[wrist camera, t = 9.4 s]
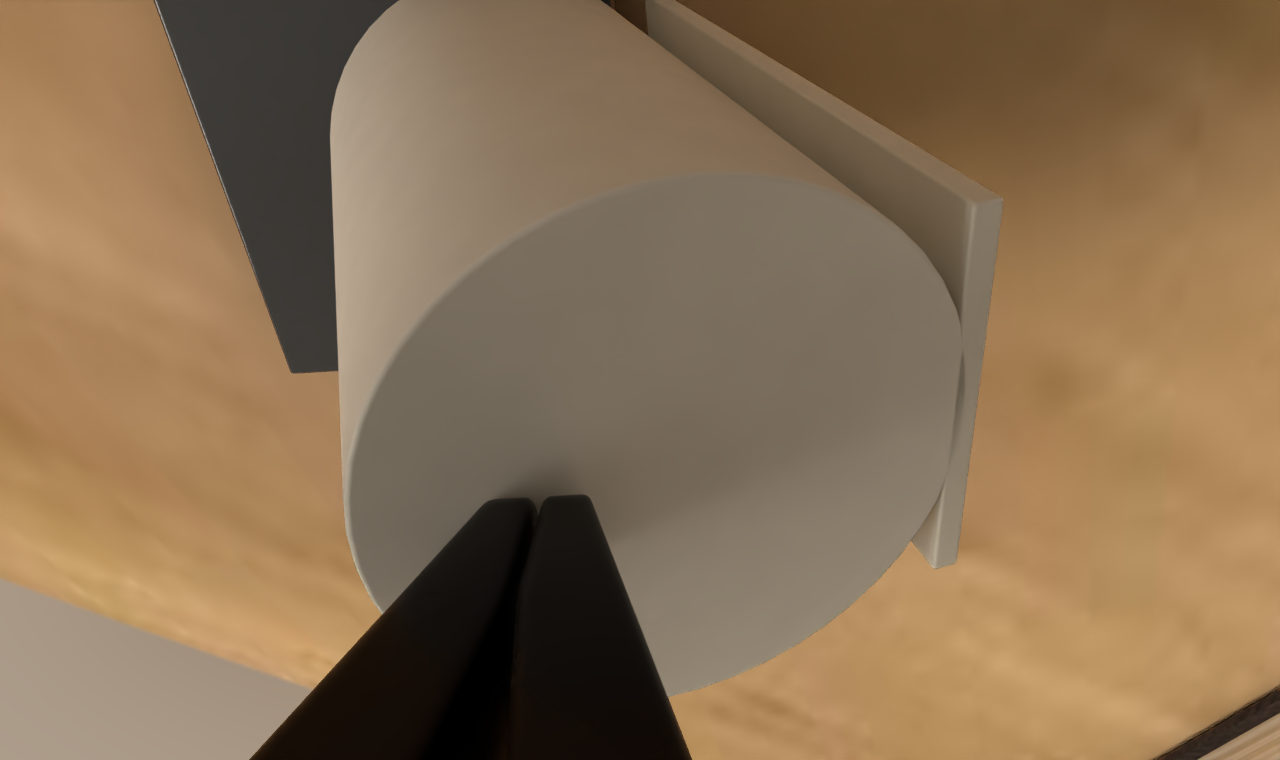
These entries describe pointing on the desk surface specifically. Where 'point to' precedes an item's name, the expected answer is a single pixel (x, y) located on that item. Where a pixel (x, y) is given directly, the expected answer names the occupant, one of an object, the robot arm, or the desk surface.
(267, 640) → the desk surface
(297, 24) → the slate coaster
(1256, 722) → the hardcover book
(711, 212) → the cylinder
